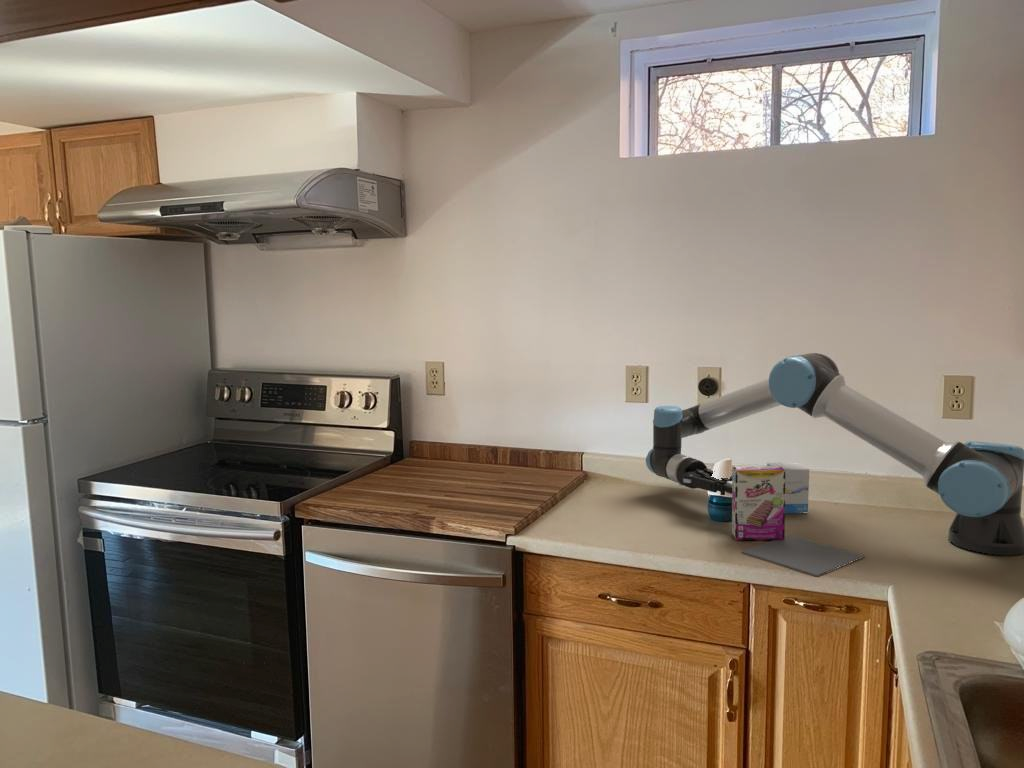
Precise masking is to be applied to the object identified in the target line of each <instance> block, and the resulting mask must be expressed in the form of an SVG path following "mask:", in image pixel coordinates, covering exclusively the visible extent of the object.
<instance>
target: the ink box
mask: <svg viewBox="0 0 1024 768" xmlns="http://www.w3.org/2000/svg"><path fill="white" fill-rule="evenodd" d="M766 466H781V467H782V468H783V469H784V470H785V514H804V513H803V512H808V513H809V494H810V493H809V491H810V490H809V488H810V469H809V468H807V467H806V466H804V465H803V464H801V463H799V462H794V461H793V462H788V461H787V462H786V461H785V462H780V461H775V462H766ZM800 512H801V513H800Z"/></svg>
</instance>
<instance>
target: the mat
mask: <svg viewBox="0 0 1024 768" xmlns="http://www.w3.org/2000/svg"><path fill="white" fill-rule="evenodd" d="M848 551H849V550H845V549H842V548H838V547H835V546H831V545H827V544H824V543H820V542H817V541H813V540H809V539H806V538H802V537H799V536H797V535H791V534H788V535H785V539H784V540H770V541H767V542H765V543H761V544H758V545H755V546H753V547H750V548H747V549H744V550H741V554H743V555H747V556H751V557H753V558H756V559H760V560H763V561H765V562H770V563H771V564H776V565H779V566H782V567H785V568H787V567H788V569H791V568H792V569H791V570H794V569H795V570H794V571H797V570H798V572H800V571H801V572H800V573H803V572H804V573H803V574H806V573H807V574H806V575H810V576H813V577H815V578H818V577H820V576H823V575H825V574H824V573H826V572H828V571H830V572H832V571H831V570H833V569H835V568H837V567H839V566H842V565H844V564H847V563H849V562H851V561H854V560H856V559H859V558H861V557H863V556H865V555H863V554H861V553H860V554H859V553H856V552H852V551H849V552H848ZM835 570H836V569H835ZM833 571H834V570H833ZM828 573H829V572H828ZM822 574H823V575H822ZM826 574H827V573H826Z"/></svg>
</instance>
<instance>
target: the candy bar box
mask: <svg viewBox="0 0 1024 768" xmlns="http://www.w3.org/2000/svg"><path fill="white" fill-rule="evenodd" d="M731 467H732V471H731V473H732V474H731V476H732V495H731V498H732V499H731V534H732V536H733V537H734V540H736V541H738V540H739V541H740V540H741V541H743V540H744V541H747V540H748V541H750V540H751V541H754V540H757V541H759V540H760V541H762V540H763V541H764V540H768V541H769V540H770V541H773V540H784V539H785V536H786V534H785V533H786V532H785V531H786V530H785V528H786V527H785V526H786V524H785V523H786V520H785V519H786V515H785V514H786V513H785V470H784V469H783V468H782V467H781V466H767V465H732V466H731Z"/></svg>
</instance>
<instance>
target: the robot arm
mask: <svg viewBox="0 0 1024 768" xmlns="http://www.w3.org/2000/svg"><path fill="white" fill-rule="evenodd" d="M779 406H784V407H787V408H790V409H795V408H797V409H798V410H801V411H802V412H803V413H805V414H806V415H809V416H811V417H812V418H814V419H817V418H824V417H825V418H827V419H828V420H830V421H831V422H833V423H835V424H836V425H838V426H839V427H841V428H843V429H845V430H846V431H848V432H849V433H851V434H853V435H854V436H856V437H858V438H859V439H861V440H863V441H865V442H866V443H868V444H869V445H871V446H872V447H874V448H875V449H877V450H879V451H881V452H882V453H884V454H886V455H887V456H889V457H891V458H892V459H894V460H896V461H898V463H901V464H902V465H904V466H905V467H907V468H909V469H911V470H912V471H914V472H915V473H916V474H919V475H920V476H921V477H922V479H923V482H924V486H925V487H927V488H928V489H929V490H931V491H933V492H934V493H936V494H937V495H939V496H940V498H941V500H942V502H943V503H944V505H945V506H947V508H949V509H950V510H951V511H953V512H954V513H955V515H954V517H953V520H952V522H951V524H950V526H949V528H948V533H947V534H948V535H947V537H948V538H947V540H948V539H949V540H948V542H949V541H950V542H949V543H951V542H952V543H953V544H952V543H951V544H952V545H954V544H955V545H954V546H956V545H957V546H956V547H958V546H959V547H958V548H960V547H961V548H960V549H963V548H964V550H966V549H969V550H968V551H970V550H973V551H972V552H974V551H977V552H976V553H979V552H982V553H981V554H984V553H988V554H987V555H991V554H994V555H993V556H1020V555H1023V554H1024V523H1023V518H1022V513H1021V512H1022V498H1023V487H1024V485H1023V484H1024V449H1023V447H1021V446H1017V445H1014V444H1006V443H1005V444H1004V443H998V442H986V441H972V440H971V441H970V440H969V441H966V442H964V443H963V442H960V441H958V440H955V441H951V442H946V441H945V440H942V438H941V439H940V438H939V437H937V436H936V435H934V434H932V433H930V432H929V431H927V430H925V429H923V428H921V427H920V426H918V425H916V424H914V423H912V422H911V421H909V420H907V419H906V418H904V417H902V416H901V415H899V414H897V413H895V412H894V411H892V410H890V409H888V408H887V407H884V406H883V405H881V404H880V403H878V402H876V401H874V400H872V399H871V398H869V397H867V396H866V395H864V394H862V393H860V392H858V391H857V390H855V389H853V388H852V387H849V386H848V385H847V384H846V381H845V376H844V375H842V374H840V370H839V368H838V366H837V364H836V363H835V361H834V360H832V359H831V357H829V356H827V355H825V354H822V353H817V352H810V353H804V354H799V355H791V356H788V357H787V356H786V357H785V358H783V359H781V360H779V361H778V362H777V363H776V364H774V365H773V367H772V368H771V371H770V372H769V377H768V378H766V379H763V380H760V381H758V382H756V383H753V384H751V385H747V386H746V387H742V388H739V389H737V390H734V391H732V392H729V393H726V394H723V395H721V396H718V397H716V398H713V399H710V400H707V401H705V402H703V403H700V404H695V406H691V407H688V408H686V409H682V408H681V407H679V406H676V405H659V406H657V407H655V408H654V410H653V411H654V412H653V420H652V424H653V425H652V426H653V428H652V432H653V434H652V438H653V440H652V441H653V442H652V448H651V449H650V450H649V451H648V452H647V455H646V457H645V465H646V467H647V469H648V470H649V471H650V472H651V473H653V474H655V475H656V476H657V477H660V478H664V479H667V480H668V481H669V480H670V481H672V482H674V483H677V484H678V485H679V486H684V487H686V488H689V489H693V490H695V489H700V490H704V491H708V492H711V493H713V494H714V493H715V494H716V493H718V492H720V493H719V494H720V496H725V495H726V494H729V495H731V496H732V475H731V477H730V479H728V478H721V479H722V480H719V479H716V478H714V477H711V476H712V474H713V471H714V470H711V468H708V467H707V464H705V462H703V461H701V460H699V459H697V458H694V457H691V456H688V455H685V454H682V439H684V438H688V437H691V436H695V435H699V434H703V433H704V432H706V431H708V430H712V429H714V428H717V427H721V426H723V425H726V424H729V423H732V422H735V421H737V420H741V419H744V418H747V417H750V416H752V415H755V414H758V413H761V412H764V411H767V410H769V409H773V408H777V407H779Z"/></svg>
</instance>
